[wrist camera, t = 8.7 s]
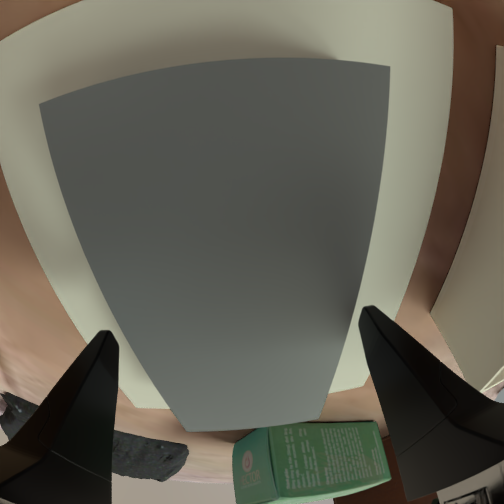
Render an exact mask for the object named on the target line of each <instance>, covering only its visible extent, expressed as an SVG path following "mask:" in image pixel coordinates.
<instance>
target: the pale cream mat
mask: <svg viewBox="0 0 504 504" xmlns="http://www.w3.org/2000/svg"><path fill="white" fill-rule="evenodd" d="M249 58H317V59H333V60H345V61H355V62H364V63H371V64H378V65H385V66H390V91H389V108H388V122H387V133H386V143H385V152H384V161H383V168H382V176H381V183H380V190H379V196H378V202H377V208H376V214H375V220H374V225H373V231H372V236H371V241H370V246H369V251H368V255H367V260H366V264H365V269H364V273H363V277H362V282H361V286H360V290H359V294H358V298H357V302H356V305H355V309H354V313H353V316H352V320H351V324H350V327H349V331H348V334H347V337H346V341H345V344H344V347H343V351H342V354H341V357H340V360H339V363H338V366H337V369H336V372H335V375H334V378H333V381H332V384H331V387H330V390H329V392H328V394H329V393H334V392H339V391H343V390H348V389H353V388H357V387H361V386H363V385H364V383H365V381H366V380H367V378H368V376H369V374H370V371H369V368H368V365H367V362H366V358H365V353H364V349H363V344H362V340H361V336H360V332H359V327H358V321H359V317H360V314H361V311H362V308H363V307H364V306H369V305H374V306H376V307H377V308H378V309H380V310H381V311H382V312H383V313H384V314H386V315H387V316H388V317H389V318H390V319H392V320H393V321H394V320H395V317H396V315H397V312H398V310H399V307H400V305H401V302H402V300H403V297H404V294H405V292H406V289H407V286H408V284H409V281H410V278H411V275H412V272H413V270H414V267H415V264H416V261H417V258H418V254H419V251H420V248H421V245H422V242H423V238H424V235H425V231H426V228H427V224H428V221H429V217H430V213H431V209H432V205H433V201H434V197H435V193H436V189H437V184H438V179H439V175H440V170H441V165H442V159H443V154H444V148H445V142H446V135H447V128H448V121H449V112H450V103H451V92H452V77H453V10H452V8H451V7H448V6H446V5H444V4H441V3H439V2H436V1H433V0H83V1H80V2H78V3H75V4H73V5H70V6H68V7H65V8H63V9H61V10H58V11H56V12H54V13H52V14H49V15H47V16H45V17H43V18H41V19H39V20H37V21H35V22H33V23H31V24H29V25H27V26H25V27H24V28H22V29H20V30H18V31H16V32H15V33H13V34H11V35H10V36H8V37H6V38H4V39H3V40H1V41H0V164H1V167H2V171H3V174H4V177H5V180H6V183H7V186H8V189H9V192H10V195H11V197H12V200H13V203H14V205H15V208H16V211H17V213H18V216H19V218H20V221H21V223H22V225H23V228H24V230H25V232H26V235H27V237H28V239H29V241H30V244H31V246H32V248H33V250H34V252H35V254H36V256H37V259H38V261H39V263H40V265H41V267H42V269H43V270H44V272H45V274H46V276H47V278H48V280H49V282H50V284H51V286H52V287H53V289H54V291H55V293H56V295H57V296H58V298H59V300H60V302H61V303H62V305H63V307H64V308H65V310H66V312H67V313H68V315H69V317H70V318H71V320H72V321H73V323H74V325H75V326H76V328H77V329H78V331H79V332H80V334H81V335H82V337H83V338H84V340H85V341H86V343H87V344H89V342H90V341H91V340H92V339H93V338H94V336H95V335H96V334H97V333H98V332H99V331H100V330H110V331H111V332H112V333H113V335H114V337H115V339H116V340H117V342H118V344H119V383H118V386H119V387H120V389H121V390H122V391H123V392H124V394H125V395H126V396H127V397H128V398H129V400H130V401H131V402H132V403H133V404H134V405H135V407H136V408H158V409H170V408H169V407H168V405H167V404H166V402H165V401H164V399H163V398H162V396H161V395H160V393H159V392H158V390H157V389H156V387H155V386H154V384H153V383H152V381H151V380H150V378H149V376H148V375H147V373H146V372H145V370H144V368H143V367H142V365H141V364H140V362H139V360H138V359H137V357H136V355H135V354H134V352H133V350H132V348H131V347H130V345H129V343H128V341H127V340H126V338H125V336H124V334H123V332H122V331H121V329H120V327H119V325H118V323H117V321H116V319H115V318H114V316H113V314H112V312H111V310H110V308H109V306H108V304H107V302H106V300H105V298H104V296H103V294H102V292H101V290H100V288H99V285H98V283H97V281H96V279H95V277H94V275H93V272H92V270H91V268H90V266H89V263H88V261H87V259H86V256H85V254H84V252H83V249H82V247H81V244H80V242H79V239H78V237H77V234H76V232H75V229H74V227H73V224H72V221H71V218H70V216H69V213H68V210H67V207H66V204H65V201H64V198H63V195H62V192H61V189H60V186H59V183H58V180H57V176H56V173H55V170H54V166H53V163H52V159H51V155H50V152H49V148H48V144H47V140H46V136H45V131H44V127H43V123H42V118H41V113H40V108H39V104H40V103H43V102H45V101H48V100H51V99H53V98H56V97H59V96H61V95H64V94H67V93H70V92H73V91H76V90H79V89H82V88H85V87H88V86H92V85H95V84H98V83H102V82H105V81H109V80H113V79H117V78H121V77H125V76H129V75H133V74H138V73H142V72H147V71H152V70H157V69H162V68H168V67H174V66H180V65H187V64H194V63H202V62H211V61H221V60H233V59H249Z"/></svg>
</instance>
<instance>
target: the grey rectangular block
mask: <svg viewBox="0 0 504 504" xmlns="http://www.w3.org/2000/svg"><path fill="white" fill-rule="evenodd" d="M389 91H390V66H385V65H378V64H371V63H364V62H355V61H345V60H333V59H317V58H249V59H233V60H221V61H211V62H202V63H194V64H187V65H180V66H174V67H168V68H162V69H157V70H152V71H147V72H142V73H138V74H133V75H129V76H125V77H121V78H117V79H113V80H109V81H105V82H102V83H98V84H95V85H92V86H88V87H85V88H82V89H79V90H76V91H73V92H70V93H67V94H64V95H61V96H59V97H56V98H53V99H51V100H48V101H45V102H43V103H40V104H39V108H40V113H41V118H42V123H43V127H44V131H45V136H46V140H47V144H48V148H49V152H50V155H51V159H52V163H53V166H54V170H55V173H56V176H57V180H58V183H59V186H60V189H61V192H62V195H63V198H64V201H65V204H66V207H67V210H68V213H69V216H70V218H71V221H72V224H73V227H74V229H75V232H76V234H77V237H78V239H79V242H80V244H81V247H82V249H83V252H84V254H85V256H86V259H87V261H88V263H89V266H90V268H91V270H92V272H93V275H94V277H95V279H96V281H97V283H98V285H99V288H100V290H101V292H102V294H103V296H104V298H105V300H106V302H107V304H108V306H109V308H110V310H111V312H112V314H113V316H114V318H115V319H116V321H117V323H118V325H119V327H120V329H121V331H122V332H123V334H124V336H125V338H126V340H127V341H128V343H129V345H130V347H131V348H132V350H133V352H134V354H135V355H136V357H137V359H138V360H139V362H140V364H141V365H142V367H143V368H144V370H145V372H146V373H147V375H148V376H149V378H150V380H151V381H152V383H153V384H154V386H155V387H156V389H157V390H158V392H159V393H160V395H161V396H162V398H163V399H164V401H165V402H166V404H167V405H168V407H169V408H170V409H171V411H172V412H173V414H174V415H175V416H176V418H177V419H178V421H179V422H180V423H181V425H182V426H183V427H184V429H185V430H186V431H187V432H204V431H226V430H240V429H252V428H261V427H270V426H278V425H285V424H292V423H298V422H305V421H310V420H316V419H319V417H320V414H321V411H322V409H323V406H324V403H325V401H326V398H327V395H328V392H329V390H330V387H331V384H332V381H333V378H334V375H335V372H336V369H337V366H338V363H339V360H340V357H341V354H342V351H343V347H344V344H345V341H346V337H347V334H348V331H349V327H350V324H351V320H352V316H353V313H354V309H355V305H356V302H357V298H358V294H359V290H360V286H361V282H362V277H363V273H364V269H365V264H366V260H367V255H368V251H369V246H370V241H371V236H372V231H373V225H374V220H375V214H376V208H377V202H378V196H379V190H380V183H381V176H382V168H383V161H384V152H385V143H386V133H387V122H388V108H389Z"/></svg>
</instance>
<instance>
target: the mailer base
mask: <svg viewBox="0 0 504 504" xmlns="http://www.w3.org/2000/svg"><path fill="white" fill-rule="evenodd" d="M430 315H431V317H432V318H433V320H434V322H435V323H436V325H437V327H438V329H439V330H440V332H441V334H442V336H443V337H444V339H445V341H446V343H447V345H448V346H449V348H450V350H451V352H452V354H453V356H454V357H455V359H456V361H457V363H458V365H459V367H460V369H461V371H462V373H463V375H464V377H465V379H466V381H467V383H468V384H470V385H471V386H472V387H474V388H475V389H477V390H478V391H479V392H481V393H483V392H485V391H486V390H488V389H490V388H492V387H494V386H496V385H497V384H499V383H501V382H503V381H504V46H499V45H496V73H495V88H494V99H493V108H492V116H491V123H490V130H489V136H488V141H487V147H486V152H485V157H484V162H483V166H482V170H481V175H480V179H479V183H478V187H477V190H476V194H475V198H474V201H473V205H472V208H471V211H470V215H469V218H468V221H467V224H466V227H465V230H464V233H463V236H462V239H461V242H460V244H459V247H458V250H457V252H456V255H455V258H454V260H453V263H452V265H451V268H450V270H449V273H448V275H447V277H446V280H445V282H444V284H443V287H442V289H441V291H440V293H439V295H438V298H437V300H436V302H435V304H434V306H433V308H432V310H431V312H430Z"/></svg>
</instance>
